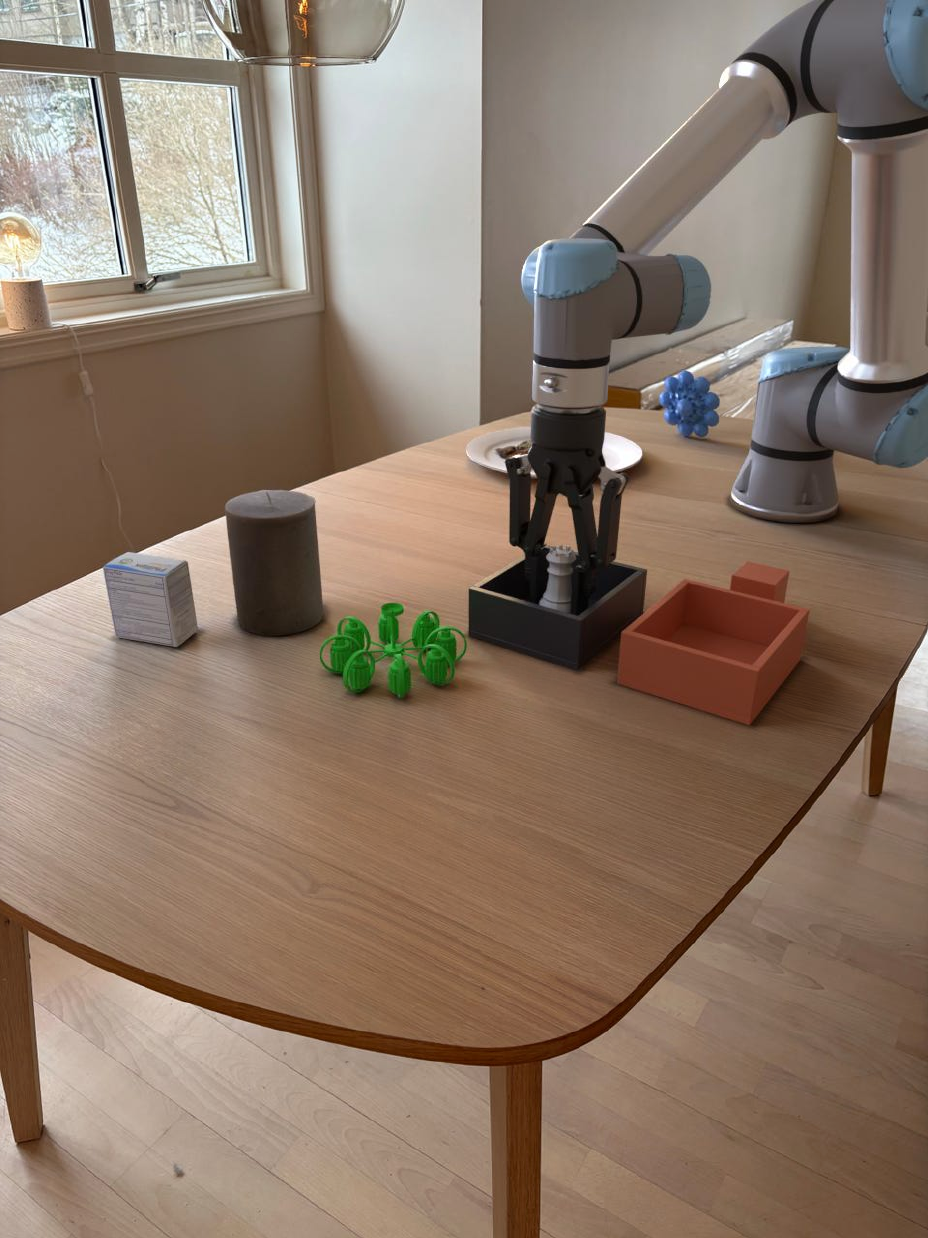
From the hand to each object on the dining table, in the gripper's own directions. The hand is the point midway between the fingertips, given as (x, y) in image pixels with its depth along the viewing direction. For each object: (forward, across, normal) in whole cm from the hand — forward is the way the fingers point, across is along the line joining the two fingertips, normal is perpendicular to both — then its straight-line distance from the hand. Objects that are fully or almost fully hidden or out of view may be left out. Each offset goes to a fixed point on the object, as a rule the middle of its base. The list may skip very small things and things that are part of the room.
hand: (558, 613), depth 106 cm
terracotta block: (+2, +17, +16) cm, 23 cm away
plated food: (+2, -32, +55) cm, 64 cm away
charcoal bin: (+2, 0, 0) cm, 2 cm away
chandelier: (+2, -9, -18) cm, 20 cm away
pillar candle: (+2, -27, -16) cm, 31 cm away
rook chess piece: (0, 0, 0) cm, 0 cm away
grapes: (+2, -19, +81) cm, 83 cm away
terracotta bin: (+2, +18, 0) cm, 18 cm away
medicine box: (+2, -35, -27) cm, 44 cm away
